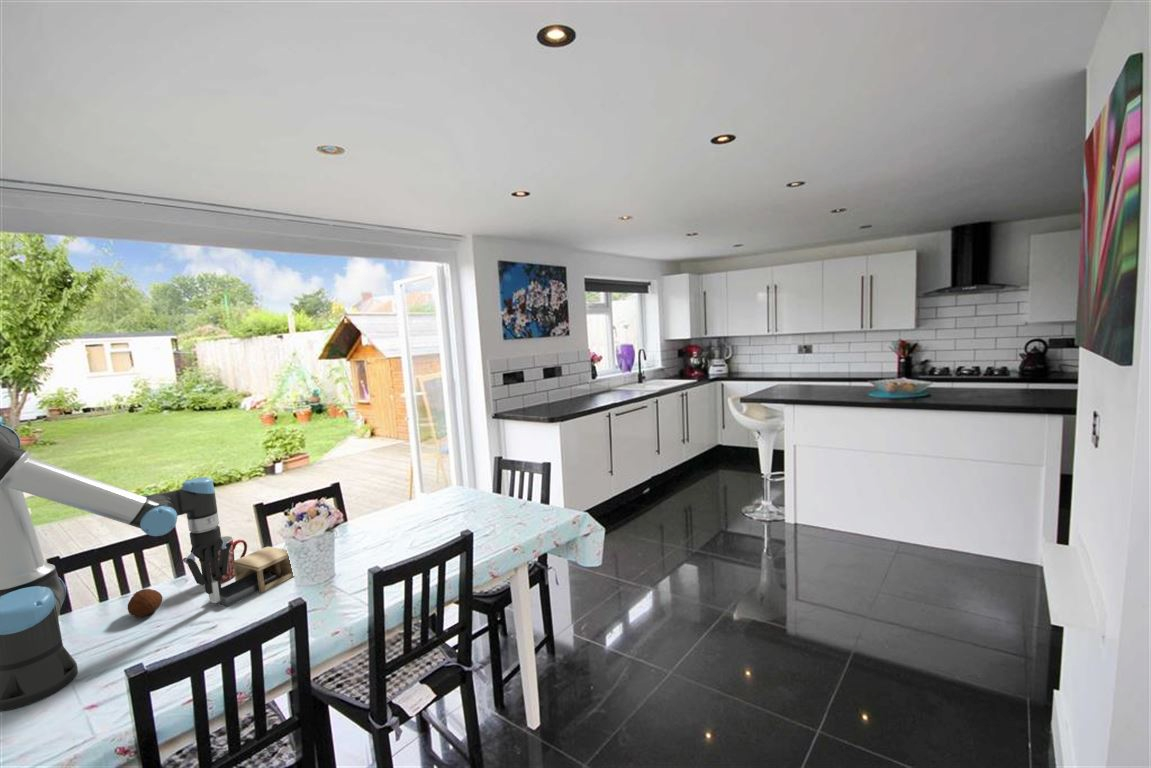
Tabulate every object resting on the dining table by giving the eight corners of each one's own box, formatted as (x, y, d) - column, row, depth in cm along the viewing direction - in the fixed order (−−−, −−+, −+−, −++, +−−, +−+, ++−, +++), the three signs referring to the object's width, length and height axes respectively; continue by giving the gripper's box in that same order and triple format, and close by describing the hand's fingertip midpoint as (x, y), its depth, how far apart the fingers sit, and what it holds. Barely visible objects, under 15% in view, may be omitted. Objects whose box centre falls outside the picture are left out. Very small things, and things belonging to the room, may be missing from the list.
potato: (156, 601, 163) (153, 579, 162) (170, 610, 157) (167, 587, 156) (122, 615, 155) (118, 592, 155) (136, 625, 150) (132, 601, 149)
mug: (208, 588, 170) (202, 549, 168) (205, 578, 177) (200, 541, 175) (252, 574, 178) (247, 537, 176) (248, 566, 185) (243, 530, 183)
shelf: (261, 593, 164) (258, 567, 163) (236, 585, 170) (232, 561, 169) (295, 575, 175) (292, 551, 174) (270, 569, 181) (267, 546, 180)
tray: (227, 608, 157) (225, 598, 157) (209, 602, 161) (208, 593, 160) (276, 583, 171) (275, 574, 171) (259, 579, 175) (258, 570, 175)
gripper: (187, 538, 148) (199, 614, 151) (234, 522, 159) (243, 593, 162) (173, 535, 151) (185, 610, 154) (219, 519, 163) (229, 588, 165)
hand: (215, 601), depth 158 cm, fingers closed
